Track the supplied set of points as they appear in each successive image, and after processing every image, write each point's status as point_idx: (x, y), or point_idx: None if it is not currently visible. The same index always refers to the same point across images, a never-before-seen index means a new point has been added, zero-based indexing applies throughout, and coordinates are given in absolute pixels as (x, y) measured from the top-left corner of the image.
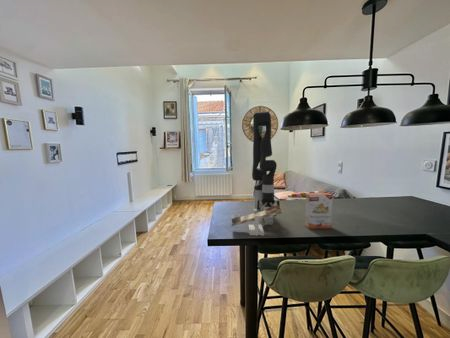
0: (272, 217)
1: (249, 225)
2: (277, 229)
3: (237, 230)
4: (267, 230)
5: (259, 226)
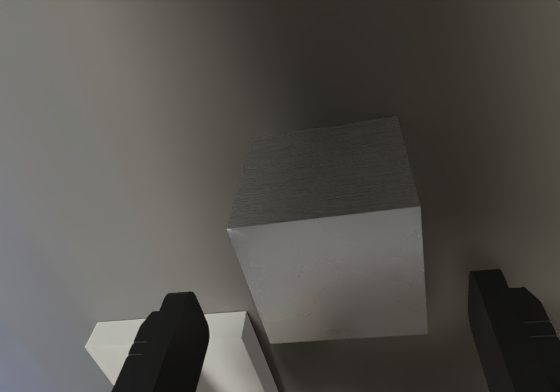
0: (413, 328)
1: (107, 365)
2: (445, 350)
3: (39, 388)
4: (325, 374)
5: (228, 378)
